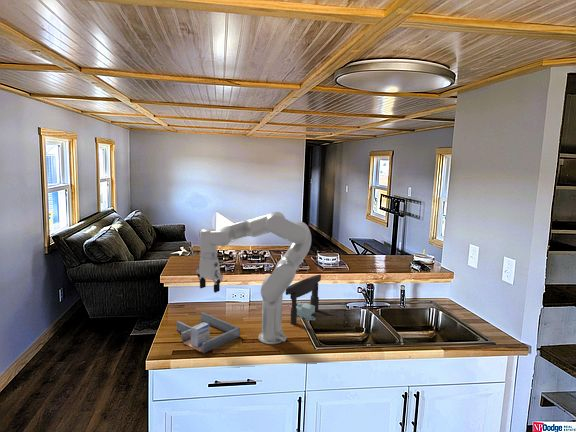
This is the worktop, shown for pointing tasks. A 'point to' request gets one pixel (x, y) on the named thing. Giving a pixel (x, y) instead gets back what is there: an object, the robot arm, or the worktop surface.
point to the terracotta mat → (193, 346)
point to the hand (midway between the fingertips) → (209, 289)
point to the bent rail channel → (208, 345)
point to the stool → (300, 290)
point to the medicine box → (199, 334)
